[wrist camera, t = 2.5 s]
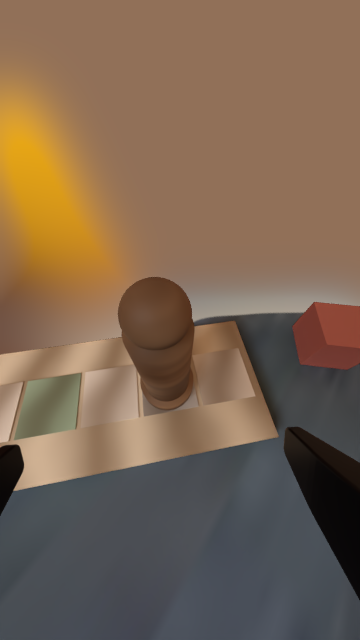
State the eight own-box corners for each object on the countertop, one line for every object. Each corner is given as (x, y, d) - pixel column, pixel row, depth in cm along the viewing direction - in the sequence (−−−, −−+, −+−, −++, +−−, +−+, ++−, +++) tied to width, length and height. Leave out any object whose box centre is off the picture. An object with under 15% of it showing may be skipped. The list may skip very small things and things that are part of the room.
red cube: (333, 331, 23) (363, 306, 19) (346, 370, 20) (384, 350, 16) (291, 326, 23) (313, 302, 19) (299, 364, 20) (326, 344, 17)
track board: (232, 326, 23) (234, 320, 22) (272, 437, 17) (279, 436, 16) (-16, 363, 20) (-28, 358, 19) (-72, 507, 14) (-92, 512, 13)
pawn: (200, 373, 19) (226, 271, 8) (178, 420, 16) (175, 364, 6) (159, 352, 20) (136, 240, 9) (133, 394, 17) (65, 310, 7)
